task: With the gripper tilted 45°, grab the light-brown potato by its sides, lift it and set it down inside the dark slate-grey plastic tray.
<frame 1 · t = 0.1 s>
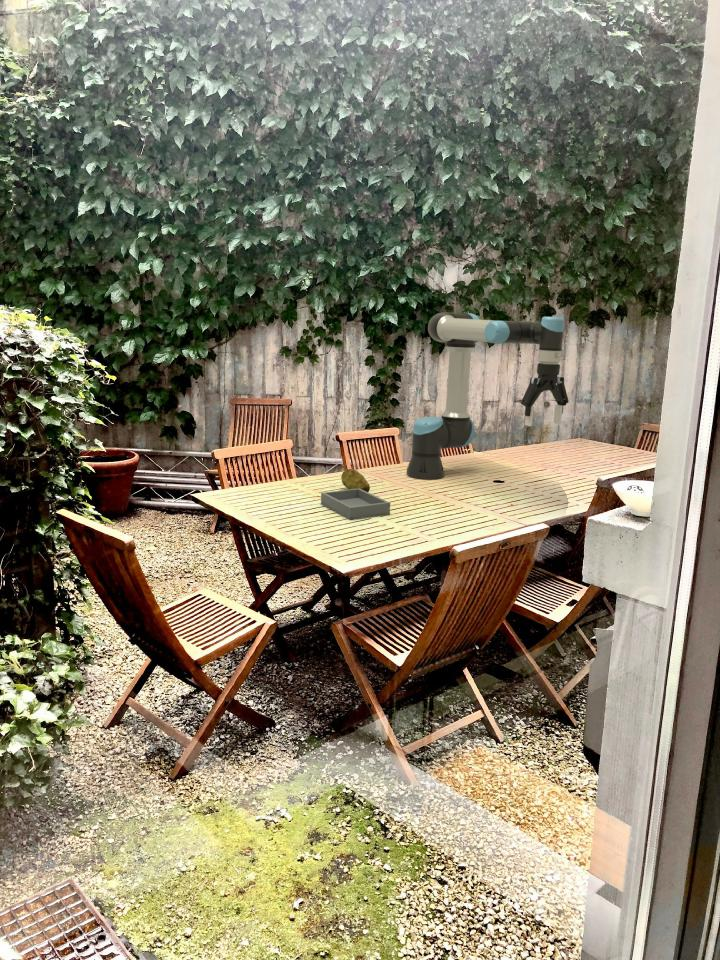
hand: (542, 424, 245), 28 cm above the table, tool pointing down, fingers open, 13 cm apart
tray: (354, 509, 235), on the table
potato: (354, 492, 257), on the table
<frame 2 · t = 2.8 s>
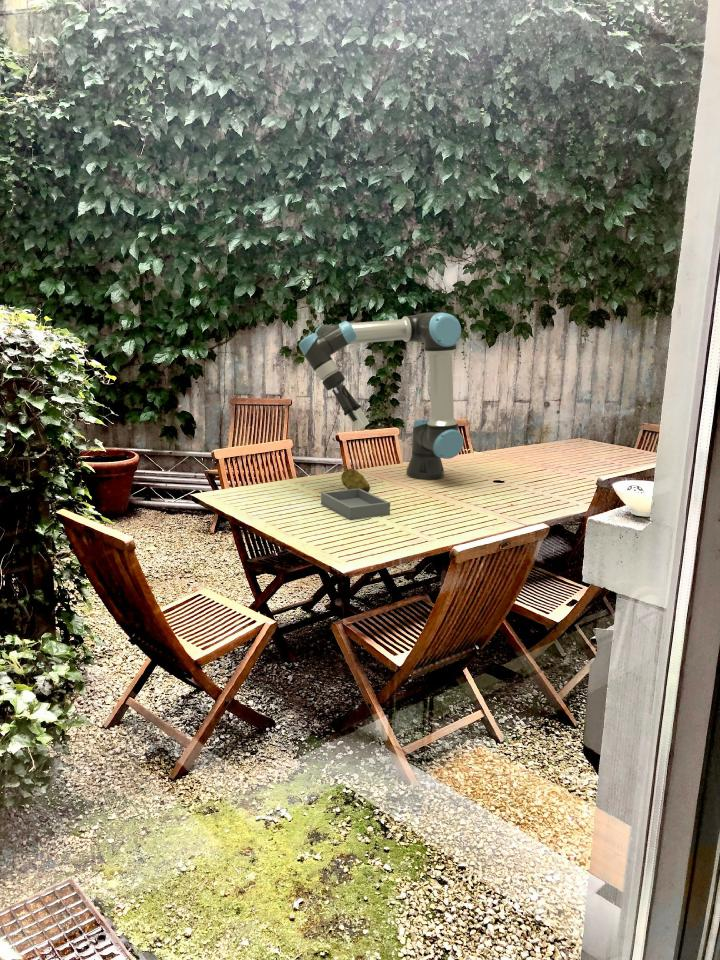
hand: (364, 427, 246), 25 cm above the table, tool tilted 35°, fingers open, 13 cm apart
nothing on the table moved.
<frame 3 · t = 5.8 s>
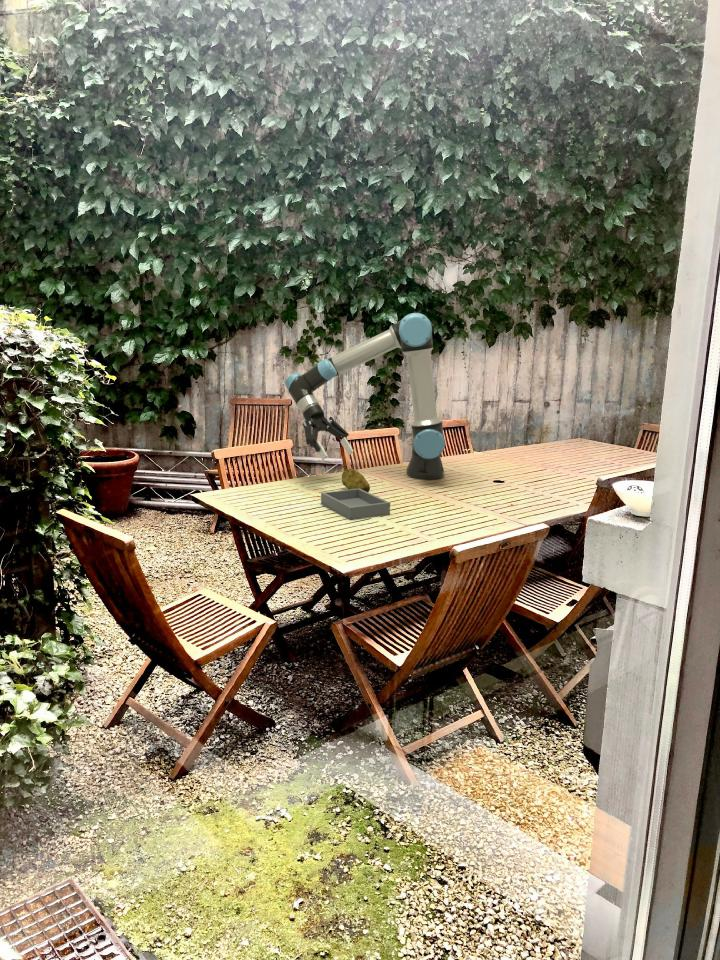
hand: (338, 455, 259), 12 cm above the table, tool tilted 45°, fingers open, 13 cm apart
nothing on the table moved.
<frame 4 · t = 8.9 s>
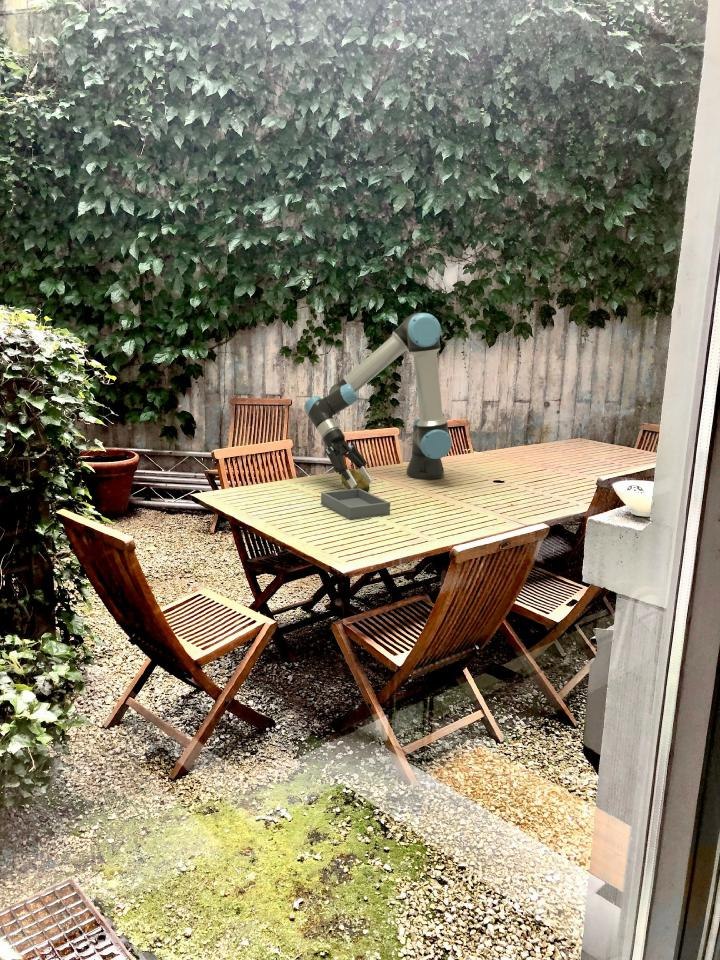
hand: (362, 484, 254), 4 cm above the table, tool tilted 45°, fingers closed on potato, 7 cm apart
potato: (354, 492, 256), on the table, touching gripper
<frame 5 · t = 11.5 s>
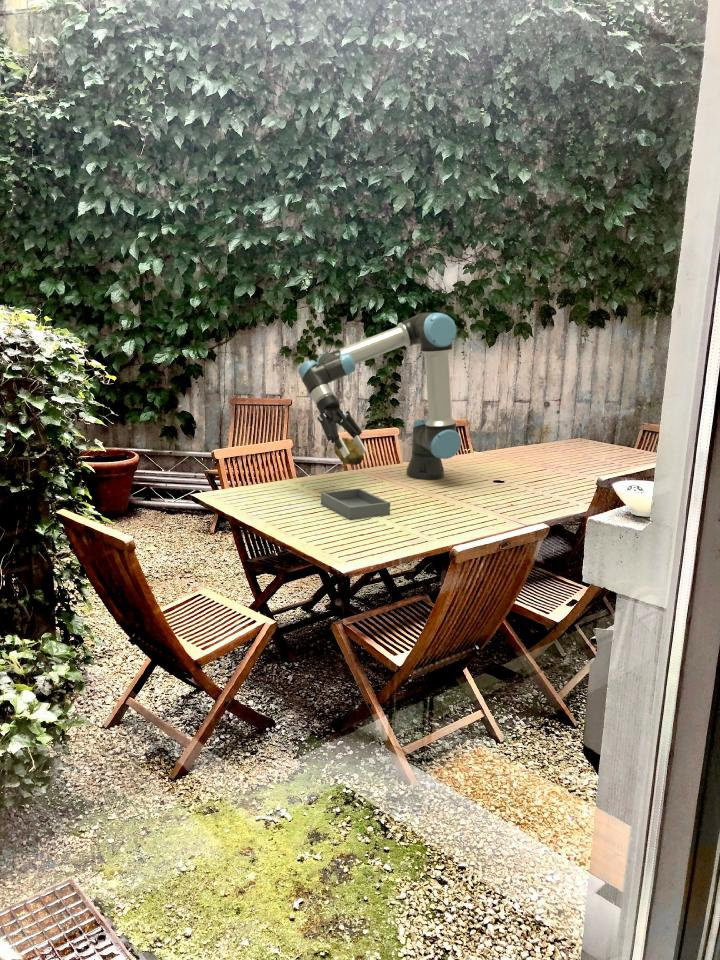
hand: (355, 454, 240), 17 cm above the table, tool tilted 45°, fingers closed on potato, 7 cm apart
potato: (347, 463, 243), point 13 cm above the table, touching gripper
when the fingers open (6 cm above the table, at t = 14.6 s): potato drops 1 cm, resting on tray.
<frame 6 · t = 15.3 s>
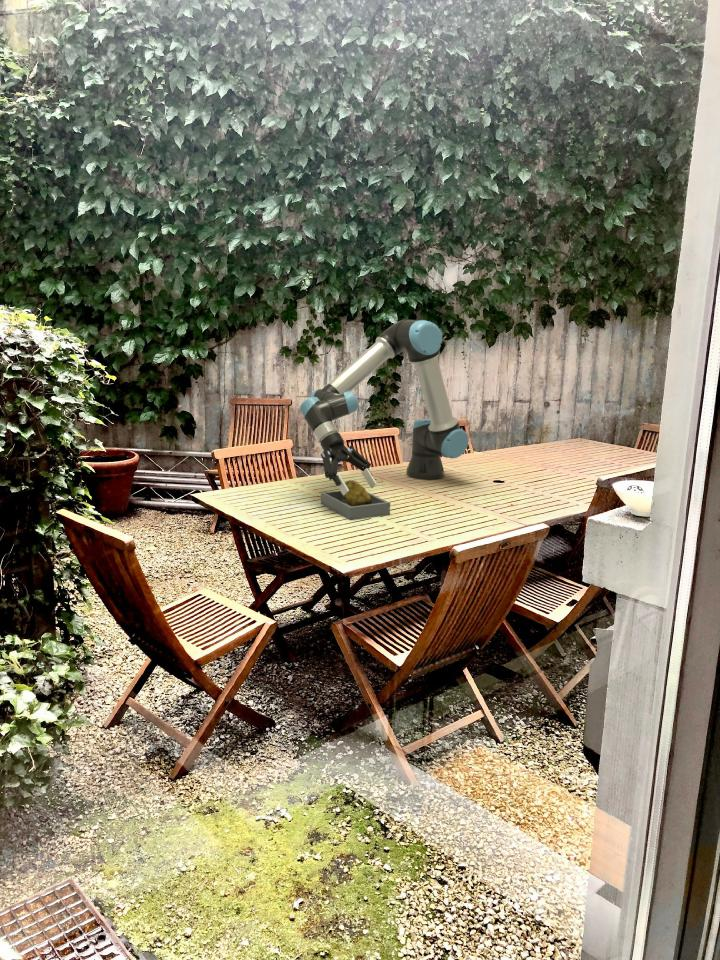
hand: (360, 489, 232), 7 cm above the table, tool tilted 45°, fingers open, 13 cm apart
potato: (355, 506, 235), point 1 cm above the table, touching tray
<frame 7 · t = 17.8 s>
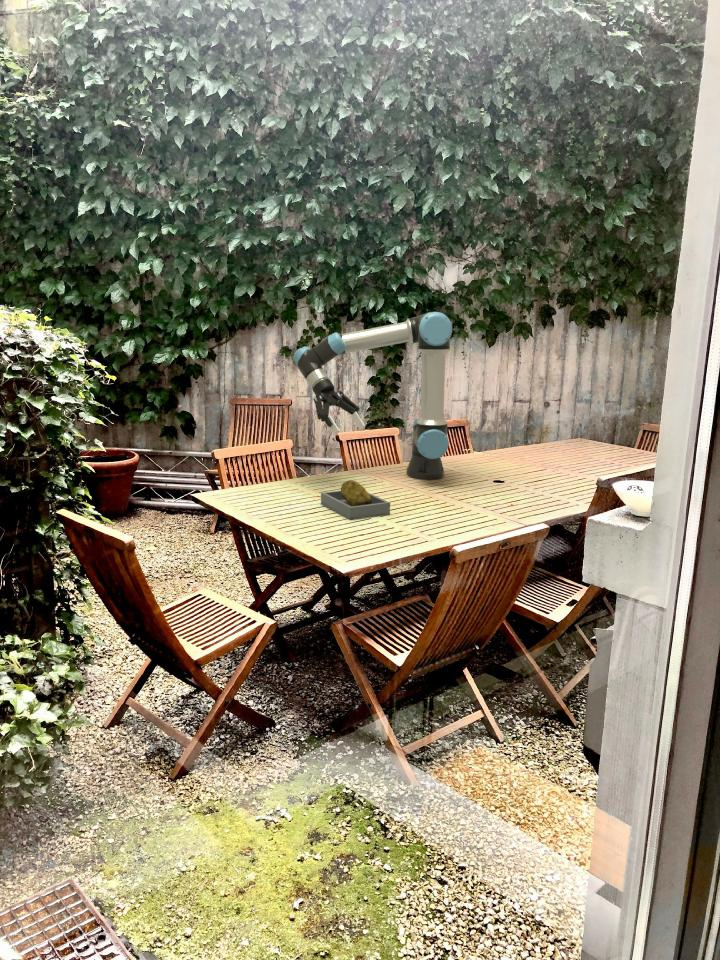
hand: (350, 430, 253), 22 cm above the table, tool tilted 45°, fingers open, 13 cm apart
nothing on the table moved.
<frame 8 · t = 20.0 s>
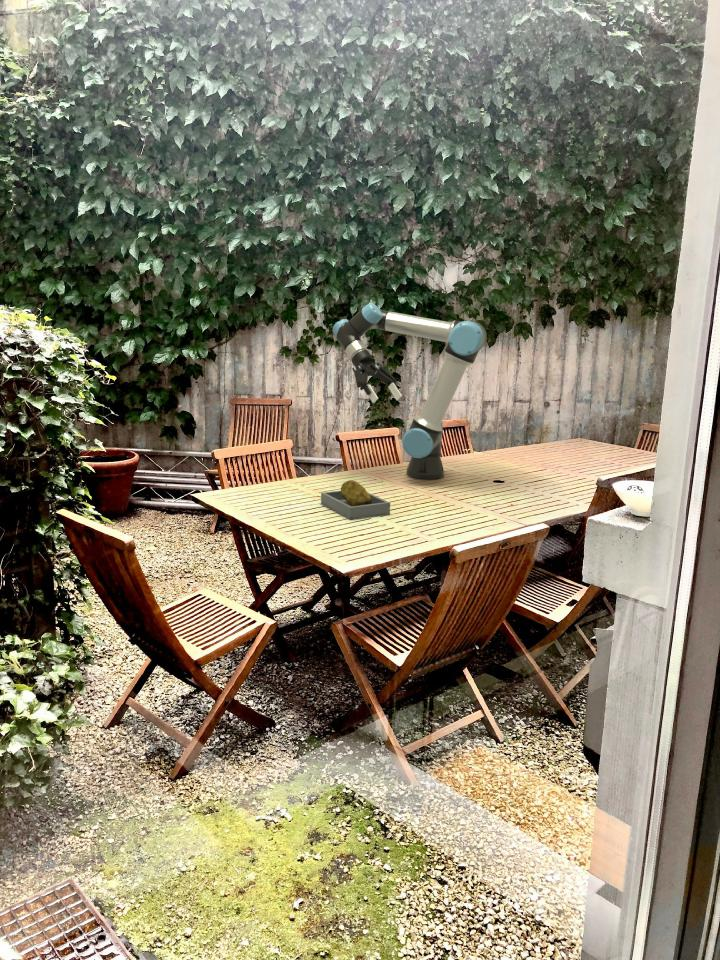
hand: (387, 399, 261), 33 cm above the table, tool tilted 45°, fingers open, 13 cm apart
nothing on the table moved.
at the end: potato inside the target area on the tray (0.2 cm from its centre), point 0.8 cm above the tray's base; the gripper is holding nothing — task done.
